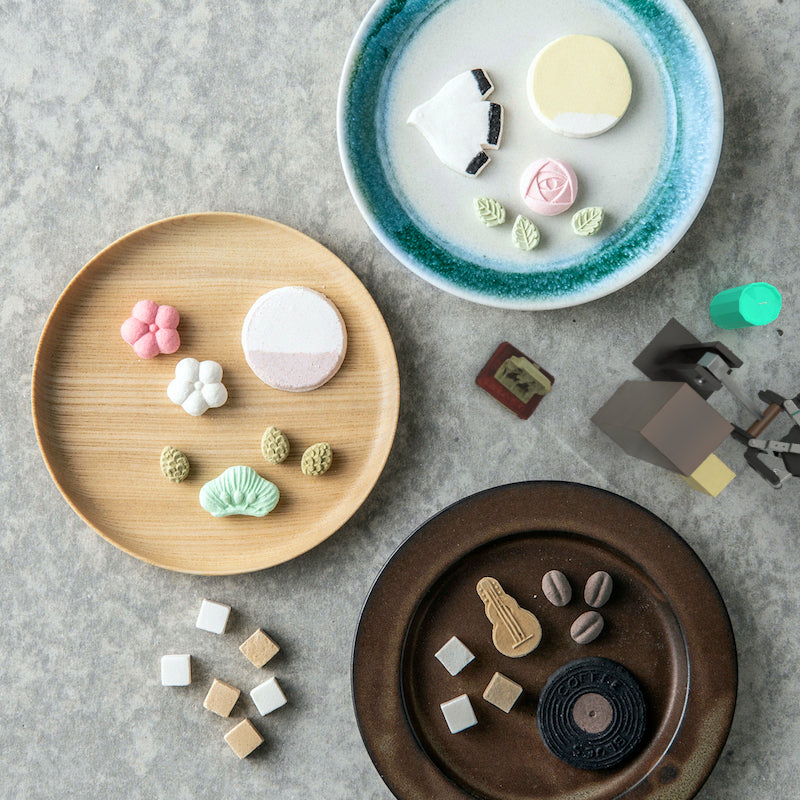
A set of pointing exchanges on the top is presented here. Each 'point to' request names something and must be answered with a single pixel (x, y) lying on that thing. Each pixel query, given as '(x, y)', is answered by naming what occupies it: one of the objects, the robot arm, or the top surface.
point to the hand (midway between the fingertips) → (745, 410)
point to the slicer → (683, 359)
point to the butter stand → (663, 424)
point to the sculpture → (514, 380)
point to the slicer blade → (740, 394)
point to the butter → (710, 476)
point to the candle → (746, 306)
